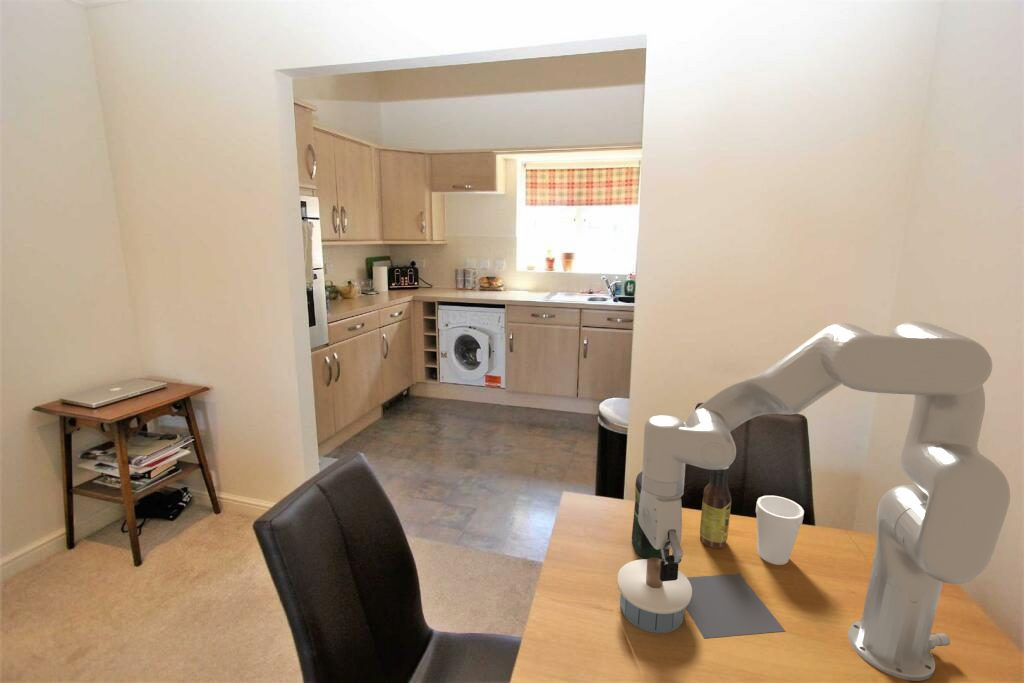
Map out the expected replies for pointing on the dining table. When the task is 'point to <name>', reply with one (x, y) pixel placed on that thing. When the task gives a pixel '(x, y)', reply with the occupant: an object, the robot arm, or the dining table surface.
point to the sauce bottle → (716, 510)
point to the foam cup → (777, 528)
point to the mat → (728, 607)
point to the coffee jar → (637, 529)
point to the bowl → (651, 618)
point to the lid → (653, 587)
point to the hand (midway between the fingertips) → (658, 562)
